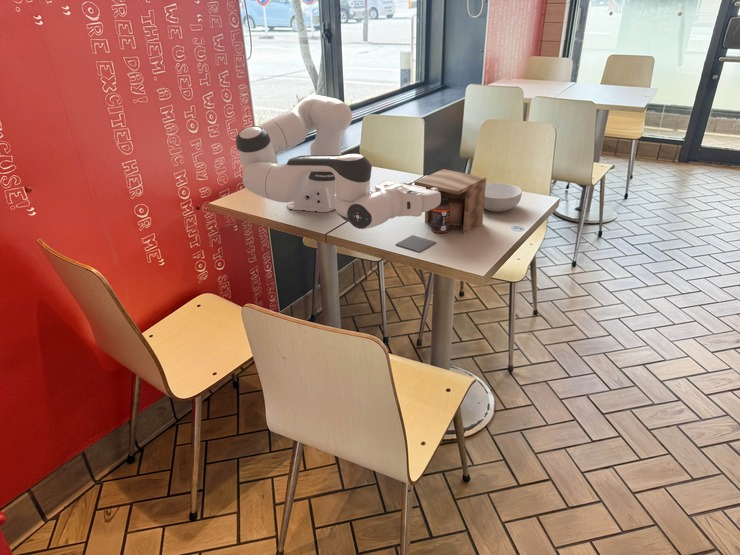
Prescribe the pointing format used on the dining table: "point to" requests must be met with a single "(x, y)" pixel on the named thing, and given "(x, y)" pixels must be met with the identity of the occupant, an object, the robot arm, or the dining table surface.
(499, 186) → the cereal bowl
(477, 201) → the walnut shelf
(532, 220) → the dining table surface
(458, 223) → the tan round cylinder
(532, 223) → the dining table surface
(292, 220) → the dining table surface
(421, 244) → the slate mat
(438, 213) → the supplement bottle
